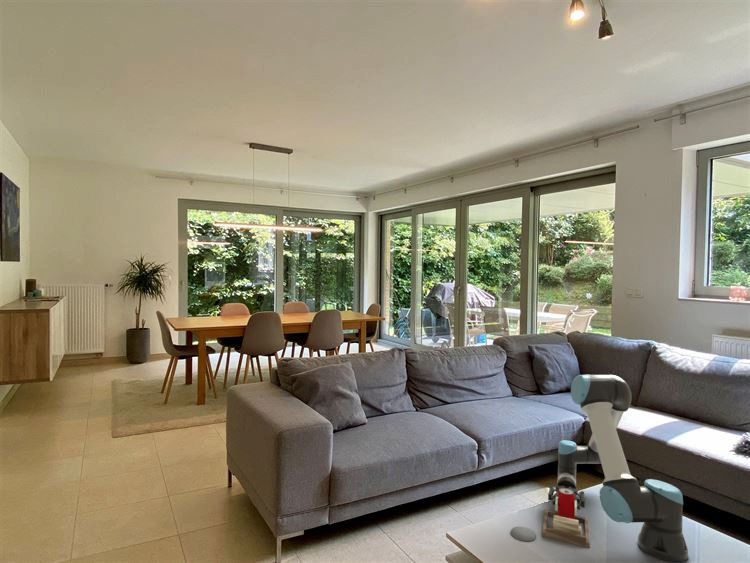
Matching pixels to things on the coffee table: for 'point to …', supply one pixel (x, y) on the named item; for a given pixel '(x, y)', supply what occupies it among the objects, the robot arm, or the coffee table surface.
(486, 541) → the coffee table surface
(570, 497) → the beverage can
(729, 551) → the coffee table surface
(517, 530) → the slate pad
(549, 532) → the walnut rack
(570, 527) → the plywood offcut stack
